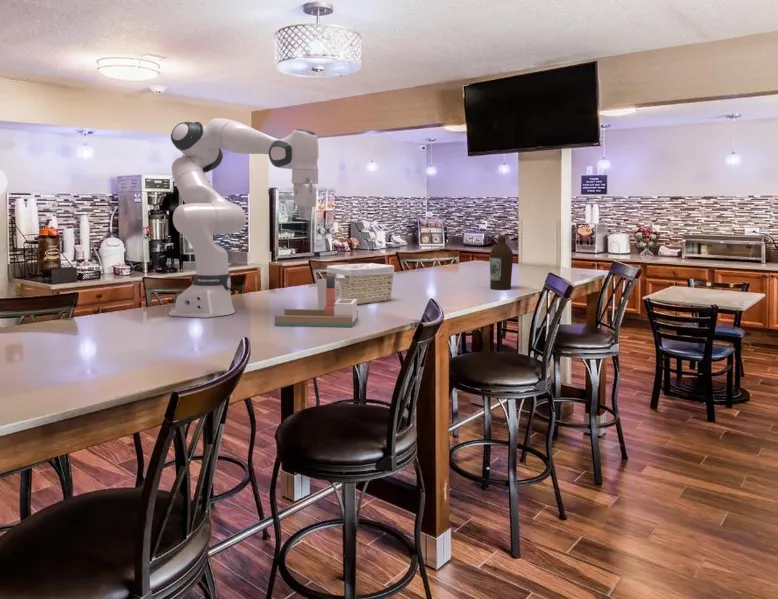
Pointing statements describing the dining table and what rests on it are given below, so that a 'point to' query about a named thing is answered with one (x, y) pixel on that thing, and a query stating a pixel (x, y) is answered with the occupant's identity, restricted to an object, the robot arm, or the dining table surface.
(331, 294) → the post
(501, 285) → the olive oil
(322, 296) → the mug
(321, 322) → the board
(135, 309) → the dining table surface
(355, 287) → the storage basket
